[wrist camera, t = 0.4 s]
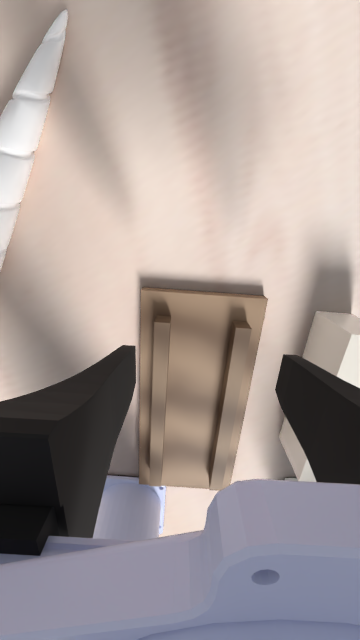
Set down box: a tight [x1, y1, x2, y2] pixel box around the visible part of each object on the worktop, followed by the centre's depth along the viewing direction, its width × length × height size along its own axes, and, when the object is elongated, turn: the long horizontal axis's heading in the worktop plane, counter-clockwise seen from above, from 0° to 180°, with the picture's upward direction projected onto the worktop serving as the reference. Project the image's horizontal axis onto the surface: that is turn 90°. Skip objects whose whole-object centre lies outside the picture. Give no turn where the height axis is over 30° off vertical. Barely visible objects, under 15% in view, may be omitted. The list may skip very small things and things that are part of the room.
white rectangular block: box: [279, 311, 360, 482], centre depth 21 cm, size 14×3×5 cm, turn 176°
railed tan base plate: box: [139, 287, 268, 491], centre depth 23 cm, size 22×10×2 cm, turn 176°
